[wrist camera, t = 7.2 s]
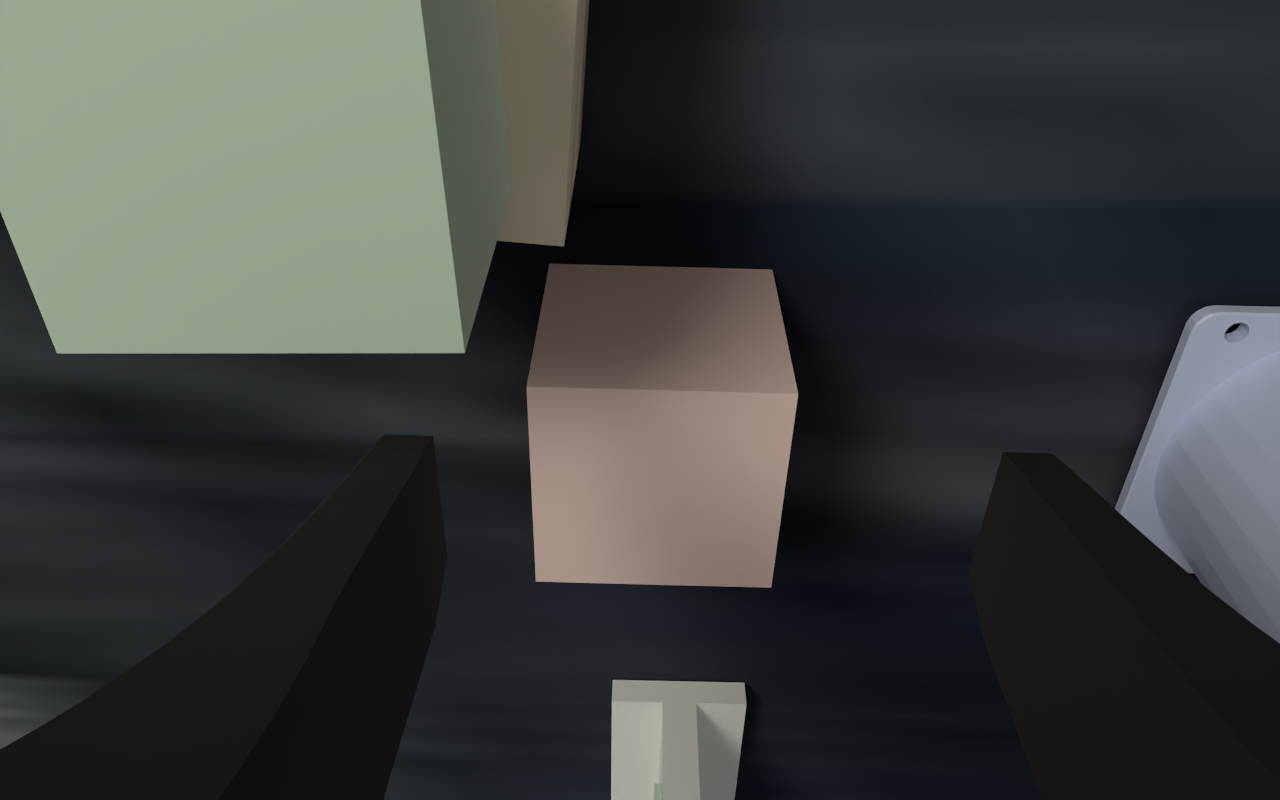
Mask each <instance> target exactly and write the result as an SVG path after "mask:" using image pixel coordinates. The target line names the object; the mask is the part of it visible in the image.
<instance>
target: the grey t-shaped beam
mask: <svg viewBox="0 0 1280 800" xmlns="http://www.w3.org/2000/svg"><path fill="white" fill-rule="evenodd" d="M745 712H746V694H745V683H740V682H693V681H646V680H613V687H612V763H611V800H735V792H736V784H737V776H738V768H739V760H740V752H741V744H742V736H743V728H744V720H745Z"/></svg>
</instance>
